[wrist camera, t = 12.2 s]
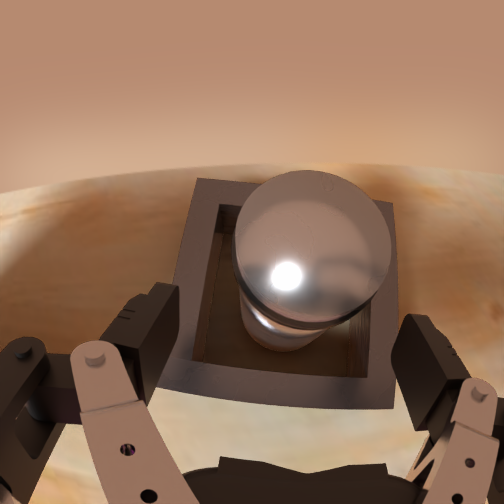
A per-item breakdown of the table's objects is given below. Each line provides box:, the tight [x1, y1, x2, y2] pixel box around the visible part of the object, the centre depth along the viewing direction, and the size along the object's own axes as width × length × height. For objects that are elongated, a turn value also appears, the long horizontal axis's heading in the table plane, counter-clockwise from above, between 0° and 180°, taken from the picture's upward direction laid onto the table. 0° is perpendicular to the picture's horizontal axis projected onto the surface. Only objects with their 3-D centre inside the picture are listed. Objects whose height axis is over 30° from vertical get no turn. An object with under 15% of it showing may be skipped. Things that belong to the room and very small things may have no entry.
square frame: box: [156, 178, 398, 409], centre depth 17 cm, size 11×11×4 cm
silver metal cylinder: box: [231, 170, 391, 352], centre depth 14 cm, size 5×5×10 cm
